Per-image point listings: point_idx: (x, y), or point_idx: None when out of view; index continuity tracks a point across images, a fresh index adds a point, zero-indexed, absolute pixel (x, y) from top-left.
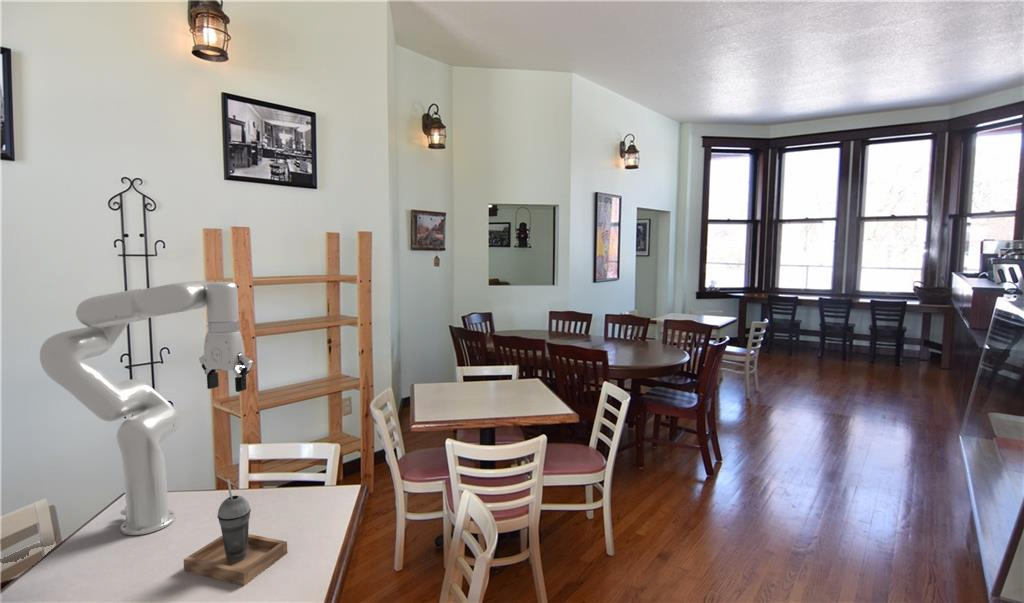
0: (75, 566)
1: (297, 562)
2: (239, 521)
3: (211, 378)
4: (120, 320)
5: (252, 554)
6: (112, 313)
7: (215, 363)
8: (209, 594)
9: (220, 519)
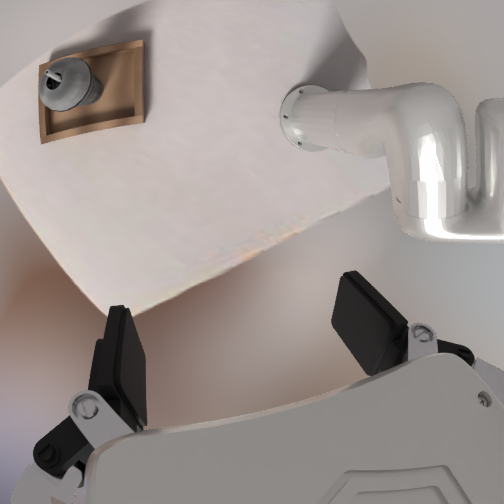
0: (301, 17)
1: (24, 135)
2: (48, 79)
3: (371, 324)
4: None
5: (76, 107)
6: None
7: (367, 450)
8: (73, 35)
9: (71, 57)
